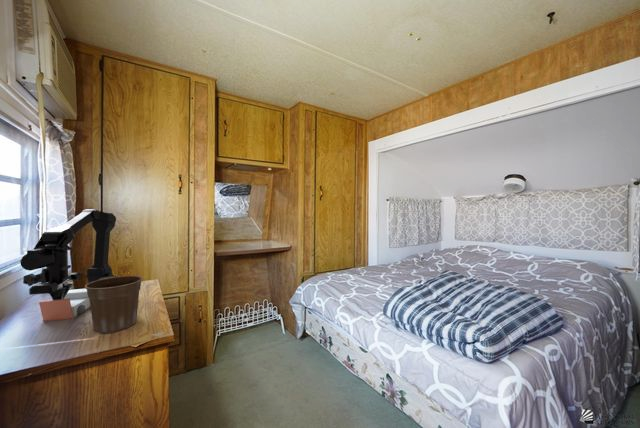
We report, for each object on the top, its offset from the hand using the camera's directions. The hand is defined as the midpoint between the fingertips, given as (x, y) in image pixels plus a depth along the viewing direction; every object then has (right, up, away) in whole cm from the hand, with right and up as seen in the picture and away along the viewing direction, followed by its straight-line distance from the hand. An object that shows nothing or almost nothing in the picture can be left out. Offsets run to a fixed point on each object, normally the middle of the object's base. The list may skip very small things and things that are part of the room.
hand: (58, 305), depth 98 cm
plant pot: (+25, -6, -4) cm, 26 cm away
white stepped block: (-2, -5, +8) cm, 10 cm away
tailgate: (0, -5, 0) cm, 5 cm away
